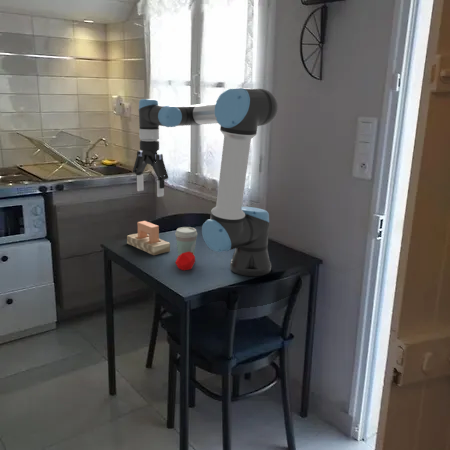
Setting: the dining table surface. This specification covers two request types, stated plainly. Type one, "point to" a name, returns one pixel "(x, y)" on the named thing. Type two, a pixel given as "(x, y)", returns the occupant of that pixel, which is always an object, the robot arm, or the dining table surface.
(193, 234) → the coffee cup
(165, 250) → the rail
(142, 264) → the dining table surface
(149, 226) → the clip
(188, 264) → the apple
